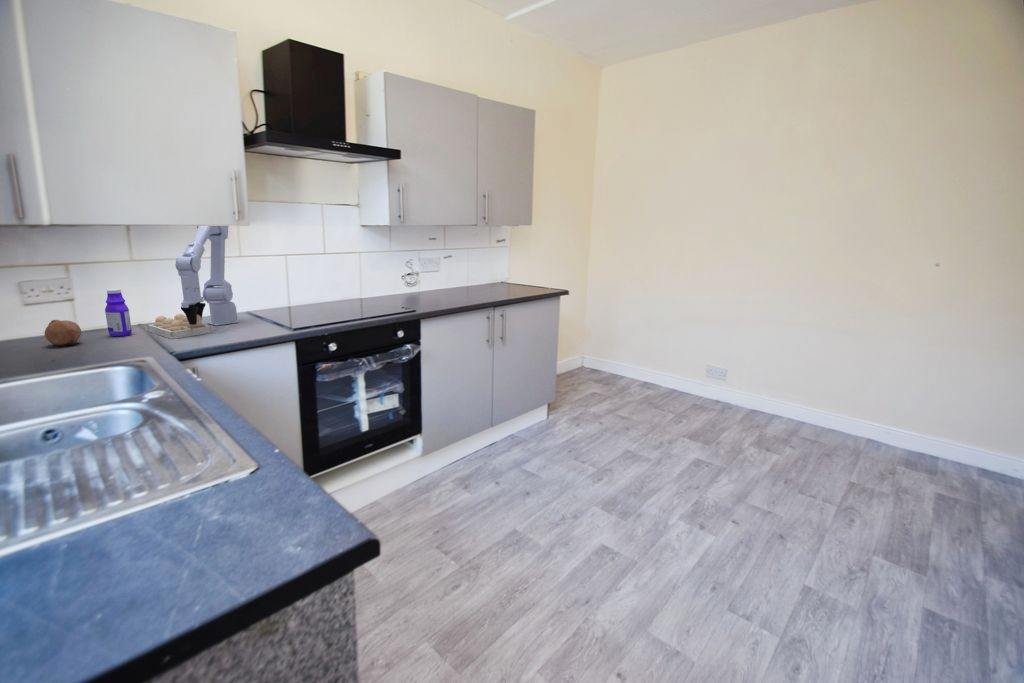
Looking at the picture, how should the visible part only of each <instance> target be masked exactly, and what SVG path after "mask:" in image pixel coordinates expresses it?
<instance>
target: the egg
mask: <svg viewBox="0 0 1024 683" xmlns="http://www.w3.org/2000/svg"><path fill="white" fill-rule="evenodd" d="M202 322H203V320H201V317H200V316H199V315H197V323H196V324H195V325H190V328H199V327H202V324H203V323H202Z"/></svg>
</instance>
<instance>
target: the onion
mask: <svg viewBox="0 0 1024 683" xmlns="http://www.w3.org/2000/svg"><path fill="white" fill-rule="evenodd" d="M47 325H48V326H47V327H45V330H44V337H45V339H46V340H47V341H48V342H49V343H50V344H52V345H54V346H55V347H58V346H60V347H62V346H64V347H65V346H73V345H75V343H76V342H78V341H79V339H80V337H81V336H82V335H81V334H82V329H81V327H80V326H79V324H78V323H76V322H74V321H71V320H59V319H52V320H51V321H50V322H49V323H48V324H47Z"/></svg>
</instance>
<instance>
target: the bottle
mask: <svg viewBox="0 0 1024 683" xmlns="http://www.w3.org/2000/svg"><path fill="white" fill-rule="evenodd" d="M106 293H107V294H106V295H107V296H106V300H105V303H106V306H105V308H104V313H105V319H106V325H107V330H108V334H109V335H110V337H127V336H130V335H132V330H133V329H132V323H131V316H130V309H129V307H128V305H127V304H126V300H125V298H124V297H123V294H122V289H120V288H109V289H106Z"/></svg>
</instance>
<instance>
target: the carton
mask: <svg viewBox="0 0 1024 683" xmlns="http://www.w3.org/2000/svg"><path fill="white" fill-rule="evenodd" d="M147 332H150V333H151V334H152V333H153V334H155V335H158V336H162V337H164V338H167V339H170V340H174V339H175V340H176V339H181V338H187V337H193V336H199V335H207V334H211V333H212V326H211V325H209V324H204V323H202V327H199V328H190V324H189V322H188V319H187V317H186V315H185V314H183V313H177V314H175V316H174V317H173V318H170V317H166V316H163V315H160V316H157V317H156V318H155V323H151V324H147Z"/></svg>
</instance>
